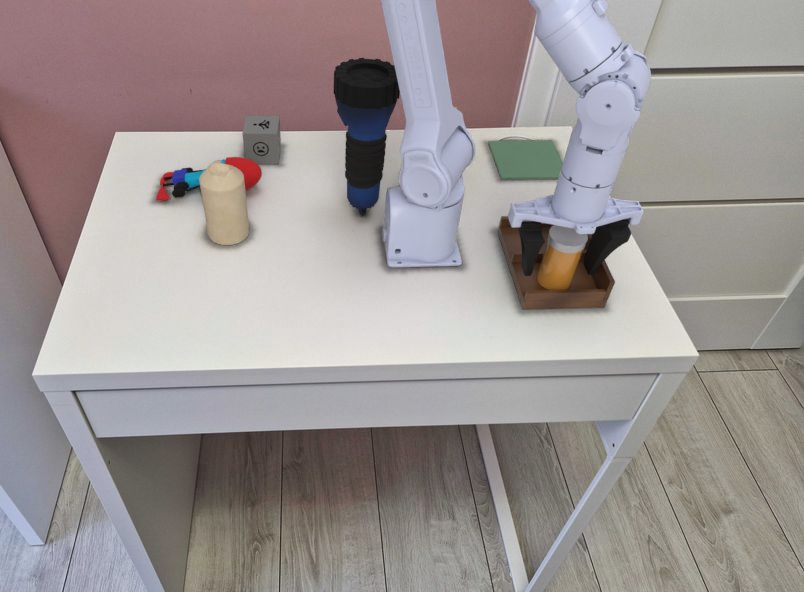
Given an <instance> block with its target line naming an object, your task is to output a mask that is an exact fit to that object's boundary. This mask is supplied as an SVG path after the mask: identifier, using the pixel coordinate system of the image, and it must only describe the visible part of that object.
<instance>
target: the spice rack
mask: <svg viewBox="0 0 804 592" xmlns="http://www.w3.org/2000/svg"><path fill="white" fill-rule="evenodd" d="M552 226H553V225H552V224H547V223H541V227H542V228H543V229H542V235H543V237H544V240H545V243H544V244H543V246H542V247H541V249H540V251H539V253H538V255H537V258H536V261H535V265H534V269H533V272H532V274H531V276H525V275H524V272H523V269H522V267H521V263H522V248H521V240H520V235H519V230H518V227H514V228H512V227H511V224H510V222H509V219H508V215H501V216H500V219H499V225H498V228H497V235H498V237H499V240H500V244H501V247H502V250H503V252H504V255H505V259H506V262H507V265H508V268H509V271H510V274H511V277H512V280H513V284H514V286H515V290H516V294H517V296H518V300H519V302H520V305H521V308H522V310H524V311H527V310H528V311H529V310H564V309H565V310H567V309H570V310H571V309H572V310H573V309H603V308H606V305H607V303H608V301H609V298H610V295H611V293H612V291H613V288H614V286H615V284H616V281H615V279H614V275H613V274H612V272H611V269H610V268H609V266H608V263H607V261H606V259H605V260H604V261H603V262H602V264H601V265H600V266H599V267H598V269H597V270H596V271H595V272H594V274H590V275H588V273H587V271H586V269H585V266H584V264H583V263H584V258H585V254H586V251H587V249H588V246H589V243H590V240H591V237H592V234H587V235H588V240H587V243H586V246H585V248H584V249H583V252H582V255H581V258H580V260H579V263H578V266H577V269H576V272H575V275H574V278H573V280H572V283H571V286H570V287H569V288H568V289H566V290H548V289H546V288H544V287H542V286H541V285H540V284H539V283H538V281H537V273H538V270H539V266H540V263H541V260H542V256H543V253H544V250H545V246H546V243H547V236H548V233H549V230H550V228H551V227H552Z"/></svg>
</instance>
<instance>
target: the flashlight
mask: <svg viewBox="0 0 804 592" xmlns="http://www.w3.org/2000/svg"><path fill="white" fill-rule="evenodd" d="M333 95H334V99H335V104H336V107H337V108H336V109H337V110H336V113H337V114H338V116H339V118H340V120H341V122H342V123H343V125H344V127H347V131H346V132H345V139H346V140H345V151H344V152H345V154H344V155H345V156H344V168H345V170H344V177H345V179H346V198H347V201H348V203H349V205H350V206H352V208H355V209H356V210H358V214H359V216H360V217H362V218H363V217H366V215H367V213H368V209H372V208H373V207H375V205H376V204H377V203H378V201H379V199H380V190H381V181H382V180H383V177H384V172H383V171H384V167H385V159H386V158H385V157H386V147H387V140H388V136H387V133H386V132H387V127H388V124H389V122H390V120H391V116H392V114H393V112H394V110H395V108H396V105H397V102H398V100H399V99H400V96H401V94H400V90H399V85H398V80H397V76H396V71H395V66H394V64H392V63H391V62H389V61H387V60H386V61H384V60H381V59H380V58H365V57H358V58H356V59H354V58H349V59H348V60H346V61H341V62H340V64H339V65H336V66H335V67H334V70H333Z"/></svg>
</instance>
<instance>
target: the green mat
mask: <svg viewBox="0 0 804 592" xmlns="http://www.w3.org/2000/svg"><path fill="white" fill-rule="evenodd" d="M487 143H488V147H489V149H490V153H491V155H492V158H493V161H494V163H495V166H496V169H497V172H498V175H499V177H500V180H501V181H514V180H515V181H516V180H519V181H520V180H558V178H559V174H560V171H561V167H562V164H563V160H562V158H561V156H560V154H559V152H558V150H557V148H556V145H555V144H554V141H553V140H552V139H529V140H528V139H525V140H524V139H523V140H520V139H519V140H488V142H487Z"/></svg>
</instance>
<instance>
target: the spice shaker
mask: <svg viewBox="0 0 804 592" xmlns="http://www.w3.org/2000/svg"><path fill="white" fill-rule="evenodd" d="M587 240H588V235H587V234H578V233H576V231H575V229H573V228H568V227H562V226H557V225H553V226H552V227H551V228H550V230H549V233H548V236H547V243H546V246H545V250H544V253H543V256H542V260H541V263H540V266H539V270H538V273H537V281H538V283H539V284H540V285H541V286H542V287H544V288H546V289H548V290H566V289H568V288H569V287H570V286H571V283H572V280H573V278H574V275H575V272H576V269H577V266H578V263H579V260H580V258H581V255H582V252H583V249H584V248H585V246H586V243H587Z"/></svg>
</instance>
